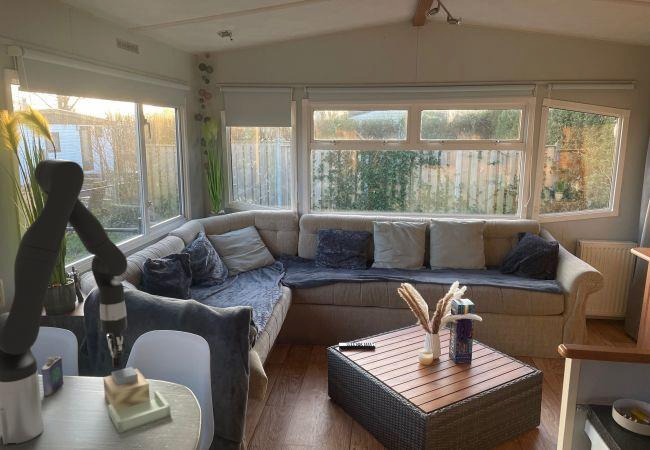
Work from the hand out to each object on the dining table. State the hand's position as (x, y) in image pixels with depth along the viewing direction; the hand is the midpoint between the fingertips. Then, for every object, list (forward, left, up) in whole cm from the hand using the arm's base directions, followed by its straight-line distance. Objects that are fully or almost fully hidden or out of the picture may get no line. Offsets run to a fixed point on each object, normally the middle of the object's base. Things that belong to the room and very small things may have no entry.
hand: (117, 366), depth 151 cm
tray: (0, -21, -6) cm, 22 cm away
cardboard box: (0, -10, -6) cm, 12 cm away
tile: (0, -9, 0) cm, 9 cm away
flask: (-17, +10, -7) cm, 21 cm away
